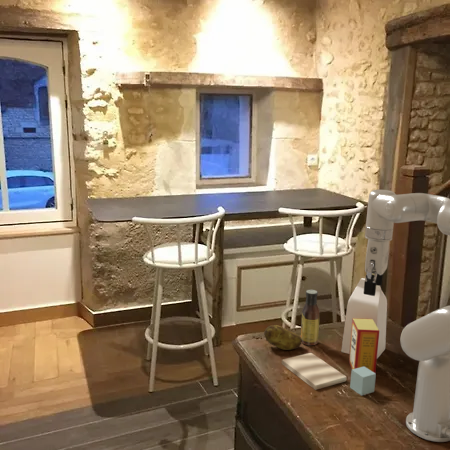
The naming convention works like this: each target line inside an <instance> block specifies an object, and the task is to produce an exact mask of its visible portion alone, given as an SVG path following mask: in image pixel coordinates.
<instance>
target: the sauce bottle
mask: <svg viewBox="0 0 450 450" xmlns="http://www.w3.org/2000/svg"><path fill="white" fill-rule="evenodd" d="M305 297H306V299H305V303H304V306H303V308H302V310H301V322H300V323H301V325H300V327H301V329H300V337H301V344H303V345H305V346H310V347H313V346H316V345H317V344H318V340H319V331H320V330H319V328H320V308H319V305H318V304H317V303H318V302H317V301H318V298H317V297H318V291H317V290H315V289H306V291H305Z"/></svg>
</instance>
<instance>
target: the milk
mask: <svg viewBox="0 0 450 450" xmlns="http://www.w3.org/2000/svg"><path fill="white" fill-rule="evenodd" d="M364 283H365V277H364V278H363V277H362V278H360V279H359V281H358V282H357V284H356V287H355V288H354V289H353V291H352V293H351V295H350V296H349V299H348V300H347V305H346V313H345V320H344V329H343V333H342V334H343V337H342V343H341V351H340V352H341V353H345V354H347V355H349V354H350V341H351V329H352V318H364V319H373V321H374V322H375V324H376V326H377V328H378V329H379V341H378V351H377V359H379V357H380V356H381V355H382V353H383V352H384V351H385V350H386V339H387V337H386V336H387V315H388V311H387V309H388V299H387V296H386V295H385V294H384V292H383V290H382V288H381V287H382V286H378V285H376V292H375V296H371V295H366V294H364Z"/></svg>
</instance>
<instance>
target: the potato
mask: <svg viewBox="0 0 450 450" xmlns="http://www.w3.org/2000/svg"><path fill="white" fill-rule="evenodd" d="M263 334H264V338H265V340H266V341H267V342H268V344H269V345H272V346H273V347H274V346H275V347H276V348H278V349H280V350H282V351H283V350H284V351H290V350H294V349H297V348H299V347H301V345H302V342H301V335H299V334H297V333H295V332H293V331H291V330H289V329H287V328H285V327H283V326H281V325H277V324H272V325H268V326H267V327H266V328H265V330H264V333H263Z"/></svg>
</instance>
